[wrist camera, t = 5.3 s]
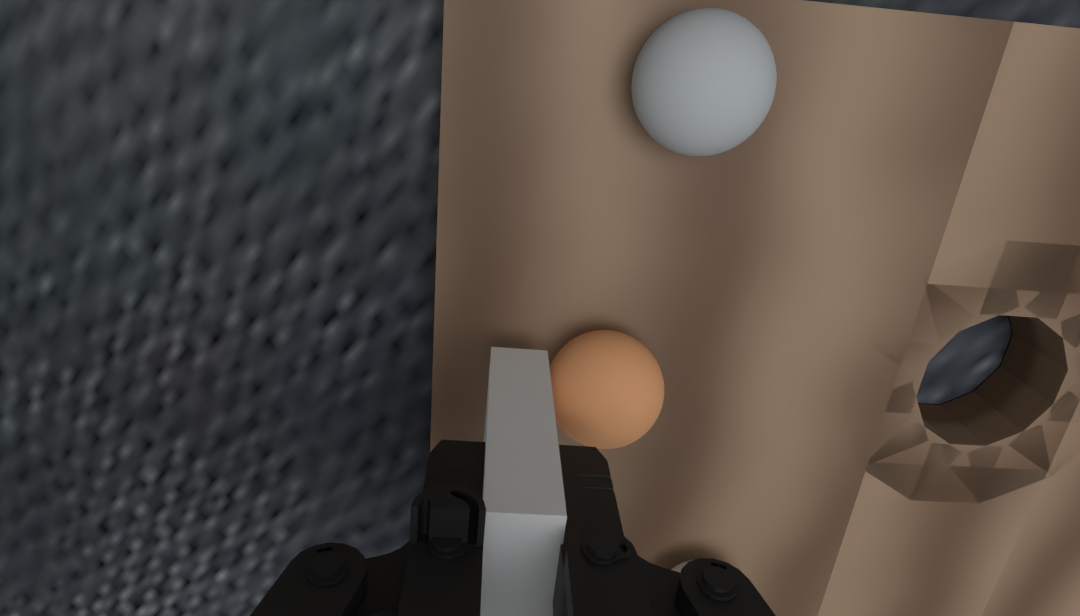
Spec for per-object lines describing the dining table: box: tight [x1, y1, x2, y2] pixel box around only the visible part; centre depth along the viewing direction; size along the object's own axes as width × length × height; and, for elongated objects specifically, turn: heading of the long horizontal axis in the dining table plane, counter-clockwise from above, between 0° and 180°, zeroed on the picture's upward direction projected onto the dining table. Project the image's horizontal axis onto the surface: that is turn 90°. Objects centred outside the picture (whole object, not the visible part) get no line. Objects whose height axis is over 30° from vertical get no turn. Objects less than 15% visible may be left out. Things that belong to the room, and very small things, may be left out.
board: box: [430, 0, 1080, 616], centre depth 22 cm, size 24×20×2 cm
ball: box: [550, 330, 664, 449], centre depth 19 cm, size 3×3×3 cm
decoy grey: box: [631, 8, 777, 156], centre depth 16 cm, size 3×3×3 cm
